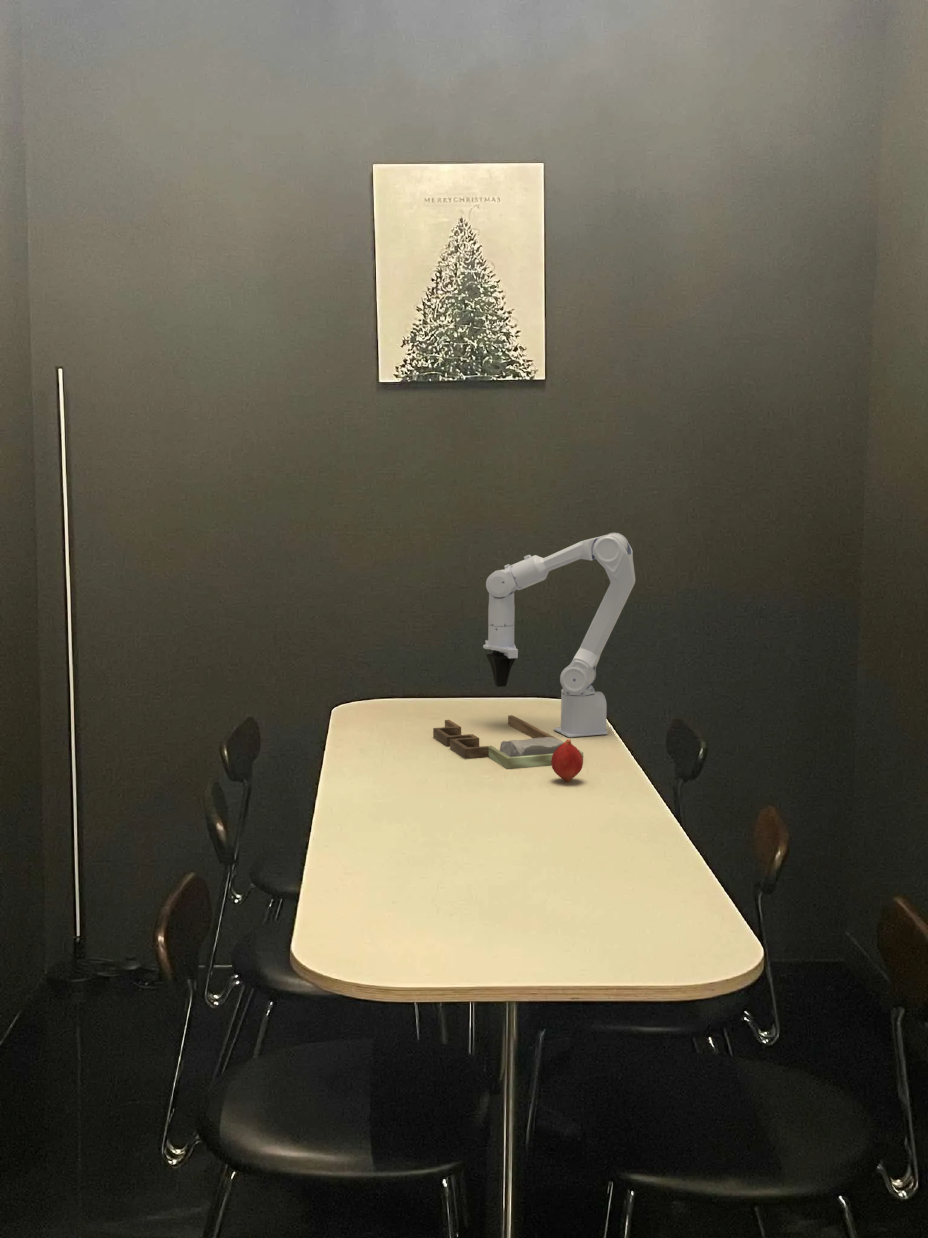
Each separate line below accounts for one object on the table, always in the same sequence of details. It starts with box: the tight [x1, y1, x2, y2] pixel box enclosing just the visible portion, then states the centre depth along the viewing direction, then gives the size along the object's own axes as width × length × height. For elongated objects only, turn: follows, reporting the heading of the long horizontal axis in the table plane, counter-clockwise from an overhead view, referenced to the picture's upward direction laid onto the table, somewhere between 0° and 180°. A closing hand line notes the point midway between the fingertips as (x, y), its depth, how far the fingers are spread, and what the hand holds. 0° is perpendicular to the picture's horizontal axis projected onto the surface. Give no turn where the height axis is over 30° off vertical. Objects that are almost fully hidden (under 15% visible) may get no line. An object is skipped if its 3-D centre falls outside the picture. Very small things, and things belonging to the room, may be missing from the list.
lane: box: [432, 714, 584, 770], centre depth 249 cm, size 21×37×2 cm, turn 20°
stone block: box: [499, 737, 564, 757], centre depth 241 cm, size 12×5×10 cm
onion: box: [551, 738, 584, 783], centre depth 221 cm, size 6×6×8 cm
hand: (500, 686), depth 265 cm, fingers closed
